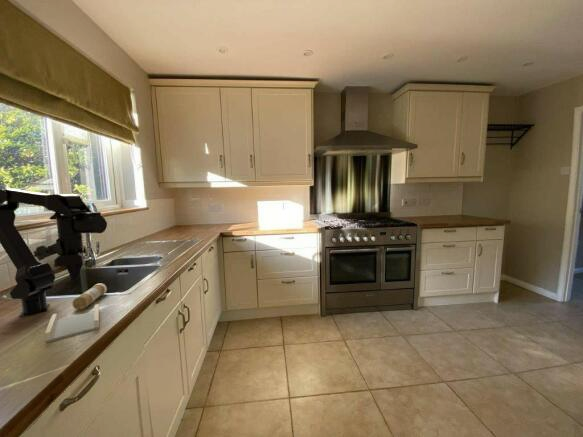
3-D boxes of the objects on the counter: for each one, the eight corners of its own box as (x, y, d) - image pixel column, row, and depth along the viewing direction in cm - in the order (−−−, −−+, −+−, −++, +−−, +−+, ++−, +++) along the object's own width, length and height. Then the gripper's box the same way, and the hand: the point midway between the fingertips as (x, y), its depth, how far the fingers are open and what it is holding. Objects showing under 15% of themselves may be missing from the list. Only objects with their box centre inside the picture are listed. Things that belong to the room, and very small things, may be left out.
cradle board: (53, 322, 75) (52, 314, 75) (99, 311, 81) (98, 304, 81) (45, 342, 65) (44, 333, 64) (99, 328, 71) (98, 319, 71)
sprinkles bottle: (82, 312, 83) (102, 296, 96) (90, 301, 83) (109, 286, 96) (68, 306, 82) (91, 290, 95) (76, 294, 82) (98, 280, 95)
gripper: (41, 232, 82) (46, 277, 84) (26, 240, 68) (33, 295, 69) (84, 229, 89) (88, 271, 91) (80, 236, 74) (84, 286, 76)
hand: (74, 280), depth 81 cm, fingers closed
